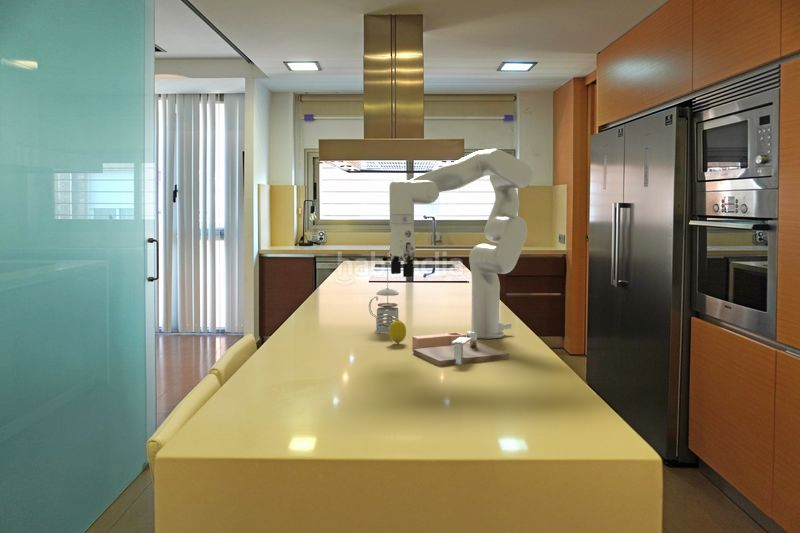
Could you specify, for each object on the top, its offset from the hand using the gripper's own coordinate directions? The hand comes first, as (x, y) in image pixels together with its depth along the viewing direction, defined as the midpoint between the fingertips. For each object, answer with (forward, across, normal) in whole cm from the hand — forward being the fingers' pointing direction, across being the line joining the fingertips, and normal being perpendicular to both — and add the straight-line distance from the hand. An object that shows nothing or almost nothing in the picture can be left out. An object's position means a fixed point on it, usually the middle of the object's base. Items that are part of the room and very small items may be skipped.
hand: (402, 275), depth 216 cm
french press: (+23, +27, -5) cm, 36 cm away
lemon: (+23, +5, 0) cm, 24 cm away
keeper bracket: (+23, -26, -7) cm, 35 cm away
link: (+23, -4, -10) cm, 26 cm away
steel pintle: (+21, -16, -17) cm, 32 cm away
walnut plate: (+23, -20, -10) cm, 32 cm away
